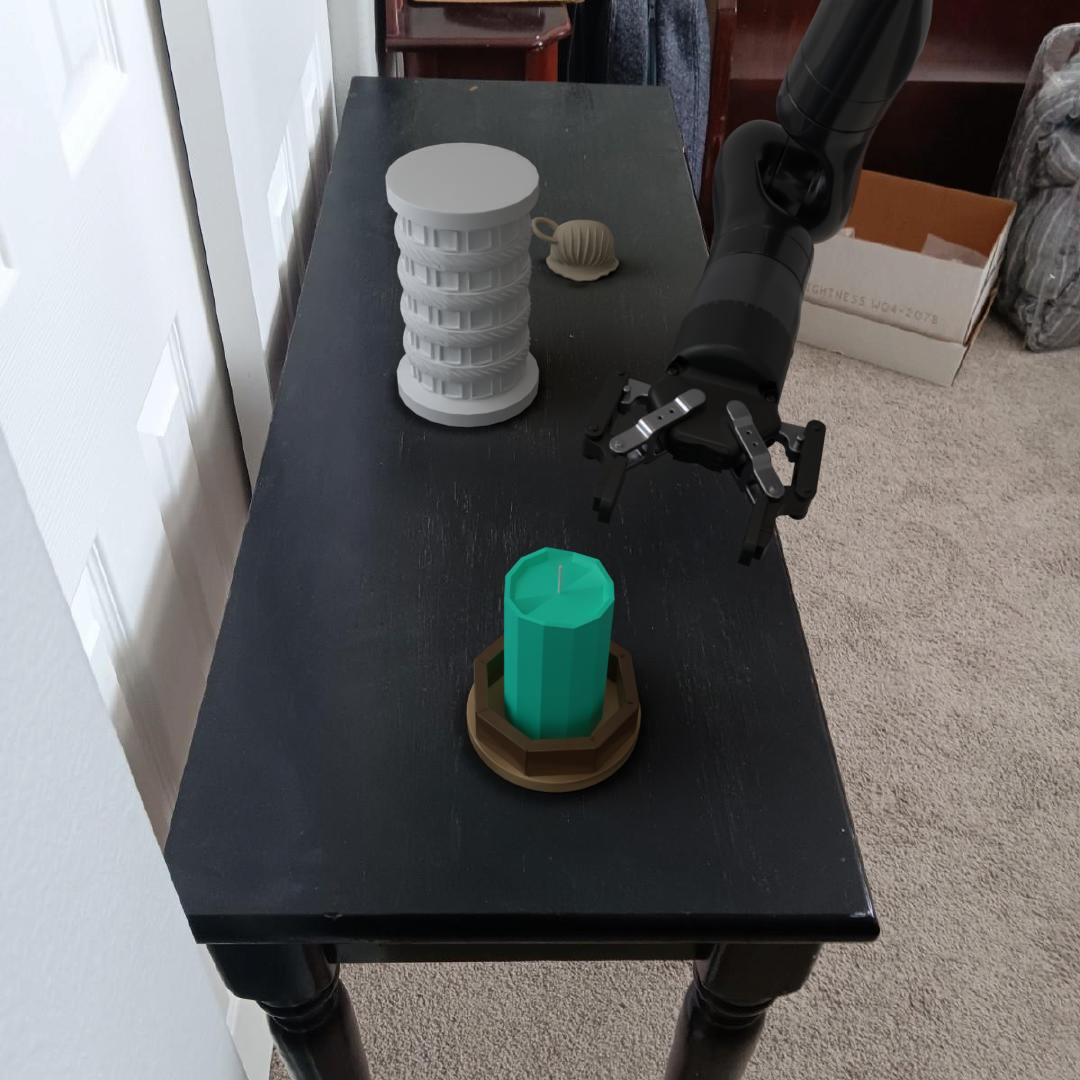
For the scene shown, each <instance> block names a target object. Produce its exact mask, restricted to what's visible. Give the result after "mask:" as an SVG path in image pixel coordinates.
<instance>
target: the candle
mask: <svg viewBox="0 0 1080 1080" xmlns="http://www.w3.org/2000/svg"><path fill="white" fill-rule="evenodd" d="M504 580H505V581H504V595H503V596H504V597H503V607H504V608H503V634H504V715H505V717H506V718H507V720H508V721H509V723H510V724H511V725H512V726H514V727H515V728H516V729H518V730H519V731H520V732H522V733H523V734H524V735H526V736H527V737H528V738H530V739H531V740H538V739H559V738H580V737H589V736H590V735H591V733H592V732H593V730H594V729H595V728H596V726H597V725H598V723H599V722H600V721H601V719H602V714H603V705H604V695H605V686H606V676H607V667H608V658H609V648H610V640H612V639H611V637H612V627H613V619H614V608H615V600H616V599H615V585H614V581H613V579H612V578H611V576H610V575H609V573H608V571H607V570H606V568H605V566H604V565H603V563H602V562H601V561H600V559H598V558H595V557H592V556H588V555H584V554H583V553H582V554H581V553H578V552H574V551H570V550H566V549H565V550H564V549H558V548H554V547H548V546H545V547H543V548H540V549H538V550H535V551H534V552H531V553H529V554H526V555H524V556H521V557H520V558H519V559H518V561H516V563H515V564H514V565H513V566H512V567H511V569H510V570H509V571H508V572H507V573H506V575H505V577H504Z"/></svg>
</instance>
